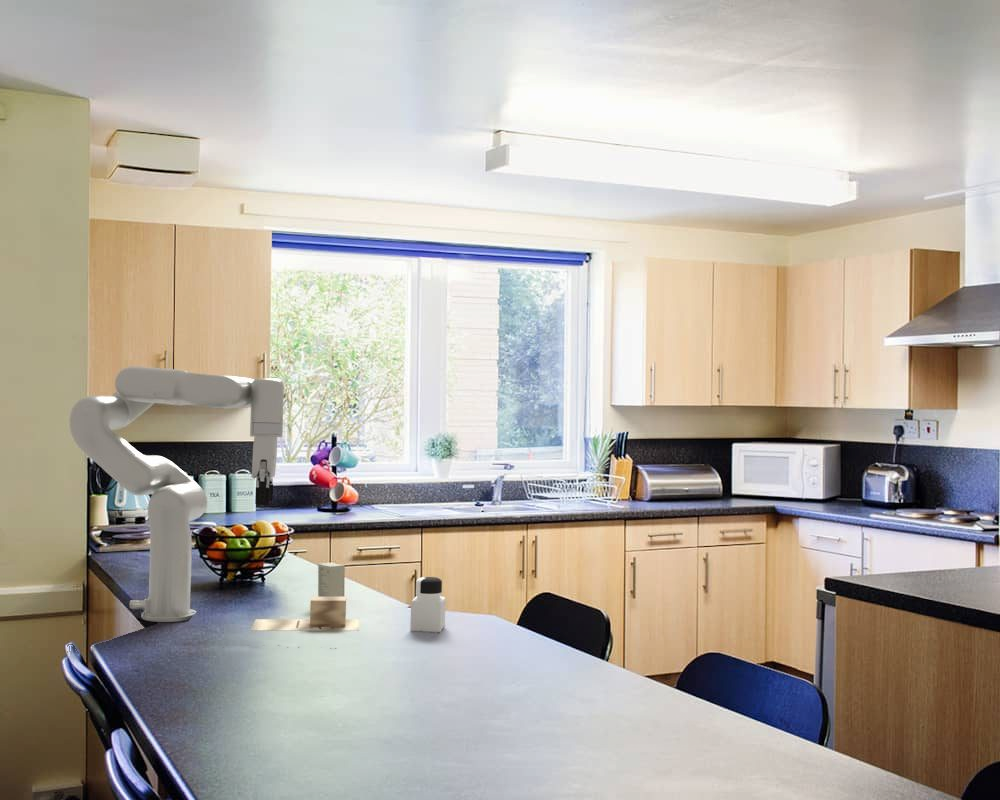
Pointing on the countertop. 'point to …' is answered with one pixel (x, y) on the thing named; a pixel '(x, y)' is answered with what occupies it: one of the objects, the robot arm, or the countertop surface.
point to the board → (299, 625)
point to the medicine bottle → (428, 606)
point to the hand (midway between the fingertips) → (264, 502)
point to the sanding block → (327, 611)
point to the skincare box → (331, 580)
